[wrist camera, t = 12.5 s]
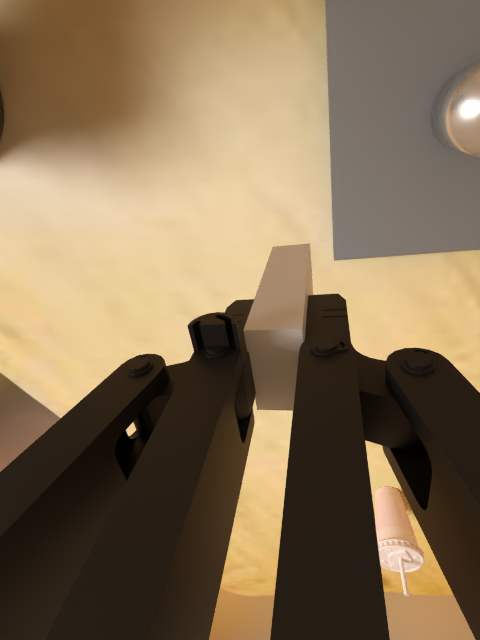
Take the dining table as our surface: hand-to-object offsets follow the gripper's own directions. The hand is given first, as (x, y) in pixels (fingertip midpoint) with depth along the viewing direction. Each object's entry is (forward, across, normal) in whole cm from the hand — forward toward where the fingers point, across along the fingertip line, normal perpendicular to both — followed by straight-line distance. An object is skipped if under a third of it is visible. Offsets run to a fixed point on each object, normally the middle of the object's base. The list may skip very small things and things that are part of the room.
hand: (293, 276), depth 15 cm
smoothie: (+25, +9, -48) cm, 55 cm away
